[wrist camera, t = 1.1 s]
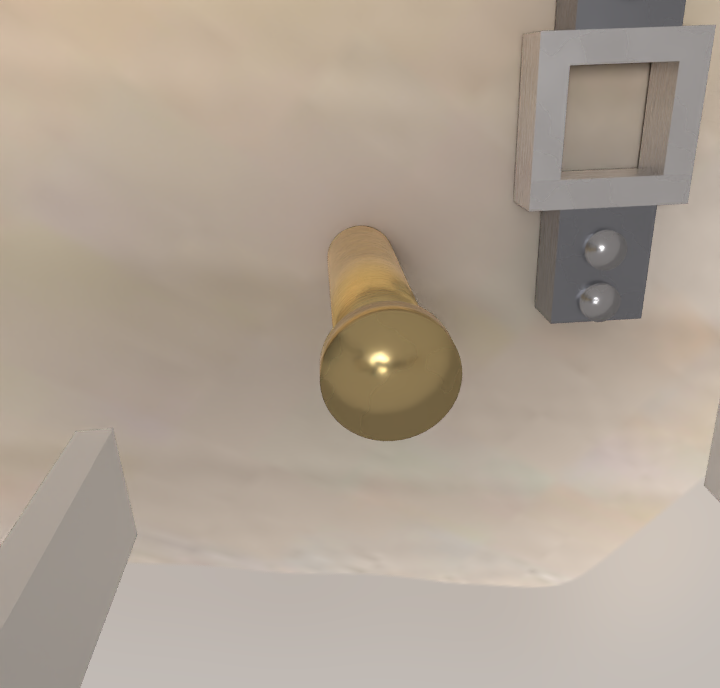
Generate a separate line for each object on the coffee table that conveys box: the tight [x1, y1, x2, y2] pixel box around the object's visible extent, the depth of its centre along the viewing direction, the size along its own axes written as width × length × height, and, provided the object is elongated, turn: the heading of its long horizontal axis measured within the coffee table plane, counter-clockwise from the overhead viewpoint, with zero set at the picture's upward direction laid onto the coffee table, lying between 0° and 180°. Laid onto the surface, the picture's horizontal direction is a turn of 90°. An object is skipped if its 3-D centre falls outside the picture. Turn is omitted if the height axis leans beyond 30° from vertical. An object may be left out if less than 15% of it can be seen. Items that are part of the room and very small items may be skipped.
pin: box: [320, 226, 462, 441], centre depth 25 cm, size 4×4×14 cm
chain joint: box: [514, 0, 716, 324], centre depth 28 cm, size 18×7×3 cm, turn 2°
